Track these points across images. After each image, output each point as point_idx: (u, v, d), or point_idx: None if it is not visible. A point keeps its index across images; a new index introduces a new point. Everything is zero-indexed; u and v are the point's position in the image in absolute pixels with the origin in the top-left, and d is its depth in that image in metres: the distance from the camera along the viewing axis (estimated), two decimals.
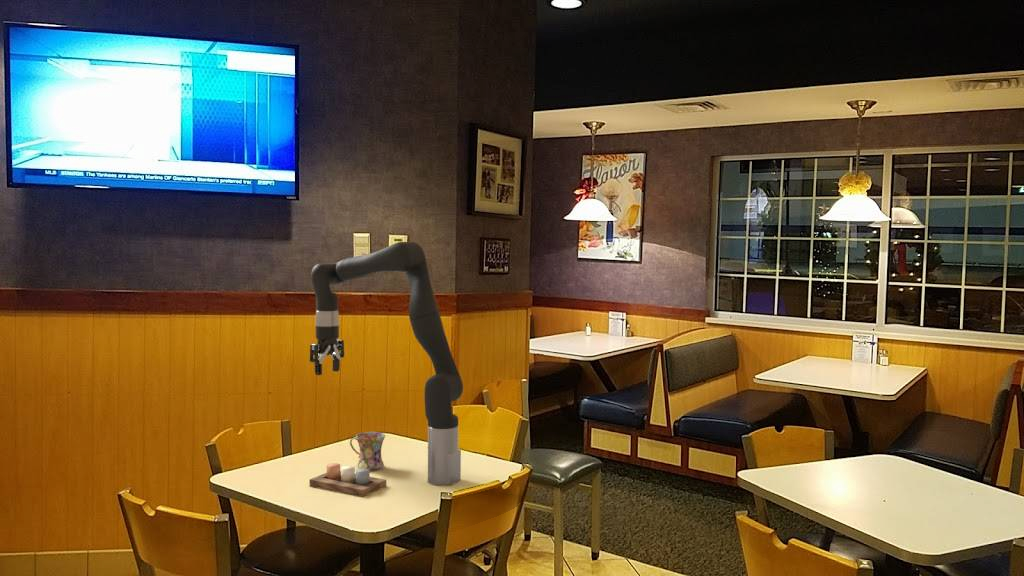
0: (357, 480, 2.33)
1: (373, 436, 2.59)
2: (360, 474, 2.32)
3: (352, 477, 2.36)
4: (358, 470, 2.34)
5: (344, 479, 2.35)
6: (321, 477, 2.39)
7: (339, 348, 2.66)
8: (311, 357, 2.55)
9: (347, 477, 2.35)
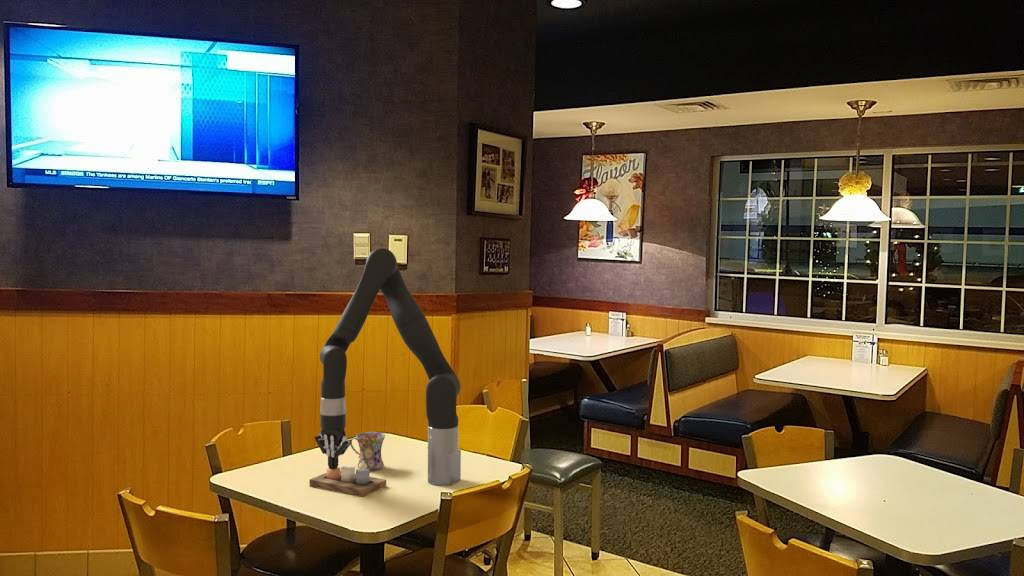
0: (357, 480, 2.33)
1: (373, 436, 2.59)
2: (360, 474, 2.32)
3: (352, 477, 2.36)
4: (358, 470, 2.34)
5: (344, 479, 2.35)
6: (321, 477, 2.39)
7: (324, 442, 2.41)
8: None
9: (347, 477, 2.35)
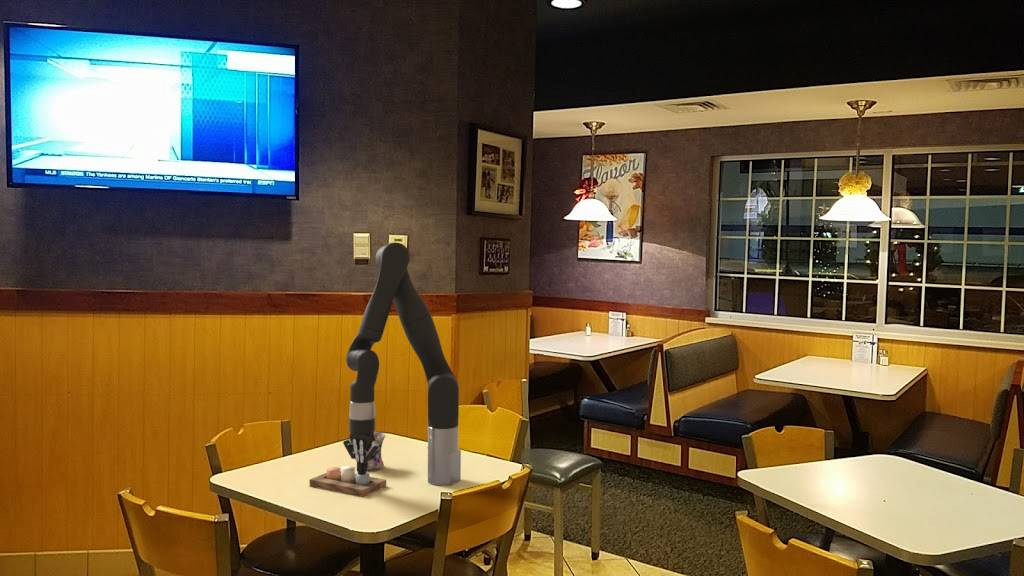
0: (357, 484, 2.33)
1: None
2: (360, 478, 2.32)
3: (352, 477, 2.36)
4: None
5: (344, 479, 2.35)
6: (321, 477, 2.39)
7: (352, 447, 2.36)
8: None
9: (347, 477, 2.35)
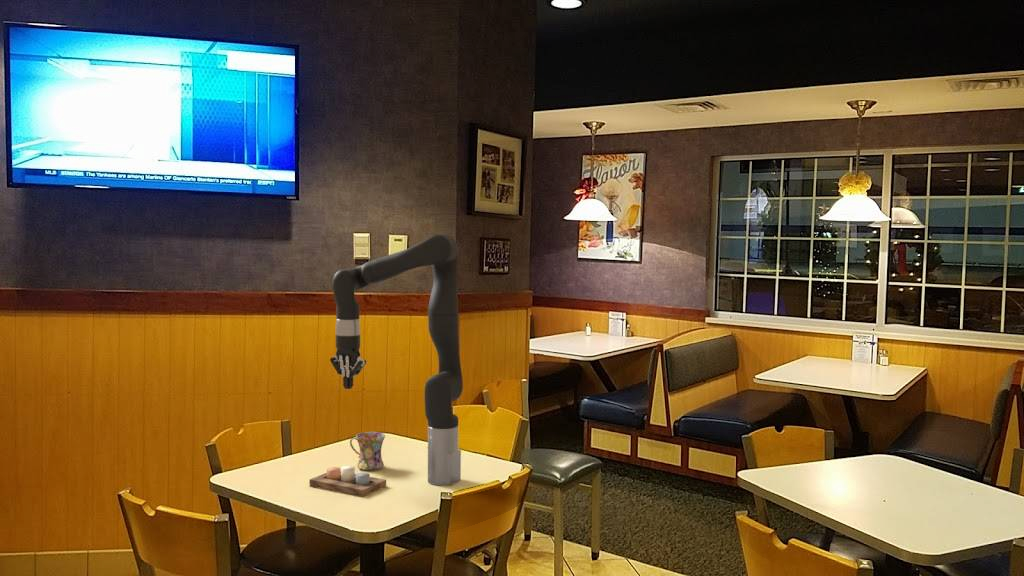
0: (357, 484, 2.33)
1: (373, 436, 2.59)
2: (360, 478, 2.32)
3: (352, 477, 2.36)
4: (358, 474, 2.34)
5: (344, 479, 2.35)
6: (321, 477, 2.39)
7: (339, 364, 2.49)
8: None
9: (347, 477, 2.35)
